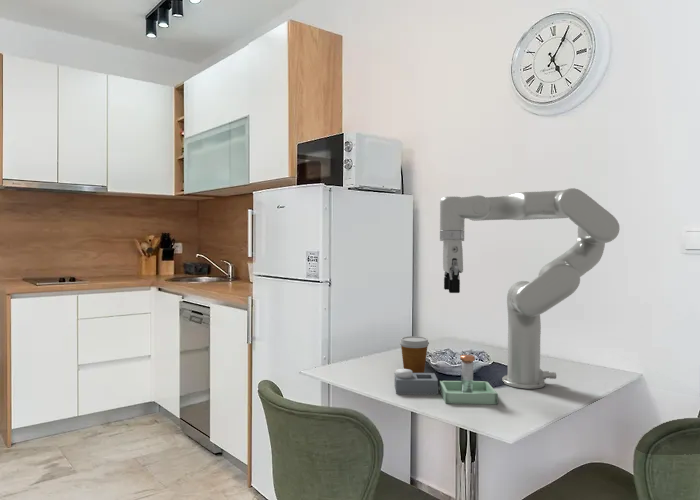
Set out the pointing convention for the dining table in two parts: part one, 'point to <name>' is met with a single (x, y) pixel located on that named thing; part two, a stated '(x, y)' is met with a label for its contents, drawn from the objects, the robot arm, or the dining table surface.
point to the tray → (480, 394)
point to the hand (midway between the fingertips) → (451, 291)
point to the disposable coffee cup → (414, 353)
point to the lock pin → (467, 373)
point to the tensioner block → (415, 382)
